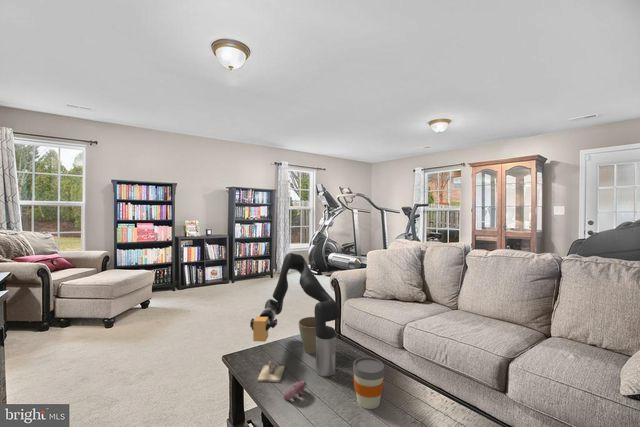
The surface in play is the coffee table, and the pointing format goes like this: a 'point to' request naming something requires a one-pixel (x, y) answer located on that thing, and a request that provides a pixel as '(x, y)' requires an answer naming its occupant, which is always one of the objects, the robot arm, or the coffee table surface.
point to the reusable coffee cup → (368, 381)
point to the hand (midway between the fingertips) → (259, 328)
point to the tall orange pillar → (260, 329)
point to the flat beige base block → (271, 373)
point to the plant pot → (308, 334)
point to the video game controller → (295, 390)
